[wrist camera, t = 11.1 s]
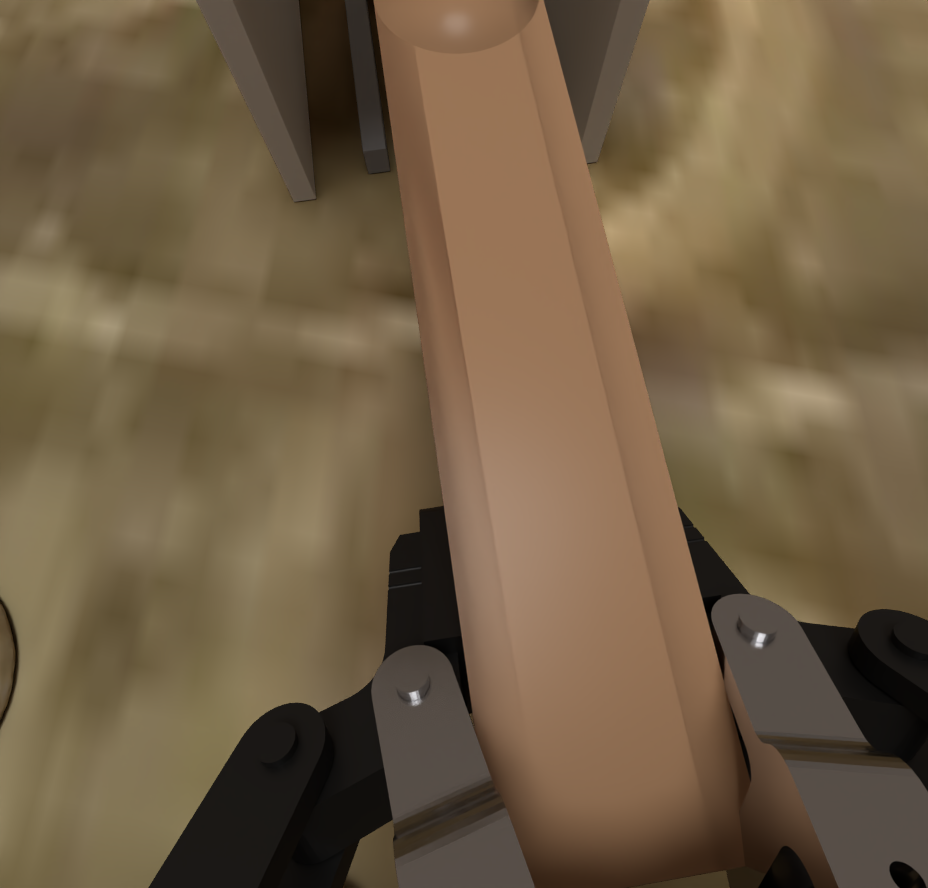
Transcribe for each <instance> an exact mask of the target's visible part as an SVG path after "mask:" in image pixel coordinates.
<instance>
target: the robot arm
mask: <svg viewBox="0 0 928 888" xmlns="http://www.w3.org/2000/svg"><path fill="white" fill-rule="evenodd" d="M678 510H679V514H680V517H681V521H682V525H683V529H684V533H685V536H686V540H687V544H688V548H689V551H690V555H691V559H692V563H693V567H694V570H695V574H696V578H697V582H698V585H699V589H700V593H701V597H702V601H703V604H704V608H705V612H706V616H707V619H708V623H709V627H710V631H711V635H712V638H713V642H714V646H715V650H716V653H717V657H718V661H719V665H720V669H721V672H722V676H723V680H724V686H725V691H726V694H727V696H728V699H729V703H730V706H731V710H732V714H733V718H734V721H735V725H736V729H737V733H738V737H739V740H740V744H741V748H742V752H743V755H744V759H745V763H746V767H747V771H748V774H749V778H750V782H751V784H750V787H749V790H748V792H747V794H746V796H745V799H744V801H743V803H742V806H741V808H740V810H739V817H740V825H741V834H742V843H743V852H744V860H745V867H740V868H734V869H728V870H726V872H727V878H728V882H729V887H730V888H928V621H927V620H925V619H923V618H920V617H918V616H915V615H912V614H909V613H906V612H902V611H897V610H889V609H880V610H873V611H869V612H867V613H865V614H864V615H863V616H862V617H861V618H860V620H859V622H858V624H857V626H856V628H855V629H853V628H845V627H836V626H828V625H820V624H811V623H805V622H799V621H797V620H796V619H795V618H794V617H793V616H792V615H791V614H790V613H788V612H787V611H786V610H785V609H783V608H782V607H780V606H779V605H777V604H775V603H773V602H771V601H769V600H767V599H764V598H761V597H758V596H754V595H750V594H749V593H748V592H747V590H746V589H745V588H744V587H743V585H742V584H741V583H740V582H739V580H738V579H737V578H736V577H735V575H734V574H733V573H732V572H731V571H730V569H729V568H728V567H727V566H726V564H725V563H724V562H723V561H722V559H721V558H720V557H719V556H718V554H717V553H716V552H715V551H714V550H713V548H712V547H711V546H710V545H709V543H708V542H707V541H704V537H703V536H702V535H701V533H700V532H699V531H698V530H697V528H694V527H693V524H692V522H691V521H690V520H689V519H688V517H687V516H686V515H685V514H684V512H683V511H682V510H681V509H680V508H679V507H678ZM419 515H420V532H416V533H410V534H403V535H400V536H399V537H398V539H397V541H396V543H395V545H394V546H393V548H392V550H391V552H390V565H389V573H390V574H389V585H388V587H389V590H388V605H387V625H386V644H385V655H384V659H383V662H382V664H381V665H380V667H379V668H378V670H377V672H376V674H375V676H374V678H373V679H372V680H371V681H370V682H369V683H368V684H367V685H366V686H365V687H364V688H363V689H362V690H360V691H359V692H358V693H356V694H354V695H353V696H351V697H349V698H347V699H345V700H343V701H341V702H339V703H337V704H335V705H333V706H331V707H329V708H327V709H325V710H323V711H321V712H318V711H317V710H316V709H315V708H313V707H311V706H310V705H307V704H304V703H289V704H284V705H281V706H278V707H276V708H274V709H272V710H270V711H268V712H267V713H265V714H264V715H262V716H261V717H260V718H259V719H258V720H256V721H255V722H254V723H253V724H252V725H251V726H250V728H249V729H248V730H247V731H246V733H245V734H244V735H243V737H242V738H241V740H240V741H239V743H238V745H237V746H236V748H235V749H234V751H233V753H232V754H231V756H230V758H229V759H228V761H227V762H226V764H225V766H224V767H223V769H222V770H221V772H220V774H219V775H218V777H217V778H216V780H215V782H214V783H213V785H212V786H211V788H210V790H209V791H208V793H207V794H206V796H205V798H204V799H203V801H202V802H201V804H200V806H199V807H198V809H197V811H196V812H195V814H194V815H193V817H192V819H191V820H190V822H189V823H188V825H187V827H186V828H185V830H184V831H183V833H182V835H181V836H180V838H179V839H178V841H177V843H176V844H175V846H174V847H173V849H172V851H171V852H170V854H169V855H168V857H167V859H166V860H165V862H164V864H163V865H162V867H161V868H160V870H159V872H158V873H157V875H156V876H155V878H154V880H153V881H152V883H151V884H150V886H149V888H343V885H344V882H345V879H346V877H347V874H348V871H349V868H350V866H351V863H352V860H353V857H354V854H355V852H356V849H357V846H358V843H359V841H360V839H361V838H363V837H365V836H366V835H368V834H370V833H371V832H373V831H375V830H376V829H378V828H380V827H381V826H383V825H384V824H386V823H388V822H389V821H391V820H393V823H394V833H395V835H394V838H393V847H394V857H395V865H396V872H397V878H398V884H399V888H535V886H534V883H533V881H532V878H531V875H530V872H529V869H528V867H527V864H526V861H525V858H524V856H523V853H522V850H521V847H520V844H519V842H518V839H517V836H516V833H515V831H514V828H513V825H512V822H511V820H510V817H509V814H508V812H507V809H506V806H505V804H504V802H503V799H502V797H501V795H500V793H499V791H498V790H497V789H496V788H495V786H494V783H493V781H492V778H491V776H490V773H489V770H488V767H487V764H486V762H485V759H484V756H483V753H482V750H481V747H480V745H479V742H478V739H477V736H476V733H475V730H474V728H473V725H472V722H471V719H470V716H469V714H470V713H472V705H471V698H470V691H469V684H468V677H467V669H466V662H465V655H464V648H463V641H462V633H461V626H460V619H459V612H458V605H457V597H456V590H455V583H454V576H453V569H452V561H451V554H450V547H449V540H448V532H447V525H446V518H445V511H444V506H441V507H434V508H428V509H421V510H420V512H419Z"/></svg>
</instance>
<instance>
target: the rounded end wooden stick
mask: <svg viewBox="0 0 928 888" xmlns="http://www.w3.org/2000/svg"><path fill="white" fill-rule="evenodd" d="M374 7H375V14H376V21H377V28H378V36H379V43H380V50H381V57H382V64H383V72H384V79H385V86H386V93H387V100H388V108H389V115H390V122H391V129H392V136H393V144H394V151H395V158H396V165H397V172H398V180H399V187H400V194H401V201H402V208H403V216H404V223H405V230H406V237H407V244H408V252H409V259H410V266H411V273H412V280H413V288H414V295H415V302H416V309H417V316H418V324H419V331H420V338H421V345H422V352H423V360H424V367H425V374H426V381H427V388H428V396H429V403H430V410H431V417H432V424H433V432H434V439H435V446H436V453H437V460H438V468H439V475H440V482H441V489H442V496H443V504H444V511H445V518H446V525H447V532H448V540H449V547H450V554H451V561H452V569H453V576H454V583H455V590H456V597H457V605H458V612H459V619H460V626H461V633H462V641H463V648H464V655H465V662H466V669H467V677H468V684H469V691H470V698H471V705H472V713H473V720H474V727H475V733H476V736H477V739H478V742H479V745H480V747H481V750H482V753H483V756H484V759H485V762H486V764H487V767H488V770H489V773H490V776H491V778H492V781H493V783H494V786H495V788H496V789H497V790H498V791H499V793H500V795H501V797H502V799H503V802H504V804H505V806H506V809H507V812H508V814H509V817H510V820H511V822H512V825H513V828H514V831H515V833H516V836H517V839H518V842H519V844H520V847H521V850H522V853H523V856H524V858H525V861H526V864H527V867H528V869H529V872H530V875H531V878H532V881H533V883H534V886H535V888H629V887H634V886H640V885H645V884H651V883H656V882H662V881H667V880H673V879H679V878H684V877H690V876H695V875H701V874H706V873H712V872H717V871H723V870H728V869H734V868H740V867H745V860H744V852H743V843H742V834H741V825H740V817H739V810H740V808H741V806H742V803H743V801H744V799H745V796H746V794H747V792H748V790H749V787H750V784H751V782H750V778H749V774H748V771H747V767H746V763H745V759H744V755H743V752H742V748H741V744H740V740H739V737H738V733H737V729H736V725H735V721H734V718H733V714H732V710H731V706H730V703H729V699H728V696H727V694H726V691H725V686H724V680H723V676H722V672H721V669H720V665H719V661H718V657H717V653H716V650H715V646H714V642H713V638H712V635H711V631H710V627H709V623H708V619H707V616H706V612H705V608H704V604H703V601H702V597H701V593H700V589H699V585H698V582H697V578H696V574H695V570H694V567H693V563H692V559H691V555H690V551H689V548H688V544H687V540H686V536H685V533H684V529H683V525H682V521H681V517H680V514H679V510H678V506H677V502H676V499H675V495H674V491H673V487H672V483H671V480H670V476H669V472H668V468H667V465H666V461H665V457H664V453H663V449H662V446H661V442H660V438H659V434H658V431H657V427H656V423H655V419H654V415H653V412H652V408H651V404H650V400H649V397H648V393H647V389H646V385H645V381H644V378H643V374H642V370H641V366H640V363H639V359H638V355H637V351H636V347H635V344H634V340H633V336H632V332H631V329H630V325H629V321H628V317H627V313H626V310H625V306H624V302H623V298H622V295H621V291H620V287H619V283H618V279H617V276H616V272H615V268H614V264H613V261H612V257H611V253H610V249H609V245H608V242H607V238H606V234H605V230H604V226H603V223H602V219H601V215H600V211H599V208H598V204H597V200H596V196H595V192H594V189H593V185H592V181H591V177H590V174H589V170H588V166H587V162H586V158H585V155H584V151H583V147H582V143H581V140H580V136H579V132H578V128H577V124H576V121H575V117H574V113H573V109H572V106H571V102H570V98H569V94H568V90H567V87H566V83H565V79H564V75H563V72H562V68H561V64H560V60H559V56H558V53H557V49H556V45H555V41H554V38H553V34H552V30H551V26H550V22H549V19H548V15H547V11H546V7H545V4H544V0H374Z"/></svg>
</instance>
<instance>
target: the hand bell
mask: <svg viewBox="0 0 928 888" xmlns="http://www.w3.org/2000/svg"><path fill="white" fill-rule="evenodd" d="M14 667H15V648H14V642H13V636H12V632H11V628H10V625H9V622H8V619H7V616H6V612H5V610H4V608H3V607H2V605H1V603H0V721H1V718H2V715H3V712H4V710H5V708H6V706H7V704H8V700H9V696H10V693H11V689H12V683H13V673H14Z"/></svg>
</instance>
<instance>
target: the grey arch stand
mask: <svg viewBox="0 0 928 888" xmlns="http://www.w3.org/2000/svg"><path fill="white" fill-rule="evenodd" d="M196 1H197V3H198V5H199V7H200V9H201V11H202V13H203V15H204V18H205V20H206V22H207V24H208V26H209V28H210V30H211V32H212V34H213V36H214V38H215V40H216V42H217V44H218V46H219V48H220V50H221V53H222V55H223V57H224V59H225V61H226V63H227V65H228V67H229V69H230V71H231V73H232V75H233V77H234V79H235V81H236V83H237V86H238V88H239V90H240V92H241V94H242V96H243V98H244V100H245V102H246V104H247V106H248V108H249V110H250V112H251V114H252V116H253V118H254V121H255V123H256V125H257V127H258V129H259V131H260V133H261V135H262V137H263V139H264V141H265V143H266V145H267V147H268V149H269V151H270V153H271V156H272V158H273V160H274V162H275V164H276V166H277V168H278V170H279V172H280V174H281V176H282V178H283V180H284V182H285V184H286V186H287V188H288V191H289V193H290V195H291V197H292V199H293V201H294V202H298V201H305V200H313V199H316V192H315V181H314V169H313V158H312V146H311V135H310V123H309V112H308V100H307V89H306V77H305V66H304V54H303V43H302V31H301V20H300V8H299V0H196ZM648 3H649V0H544V4H545V7H546V11H547V15H548V19H549V22H550V26H551V30H552V34H553V38H554V41H555V45H556V49H557V53H558V56H559V60H560V64H561V68H562V72H563V75H564V79H565V83H566V87H567V90H568V94H569V98H570V102H571V106H572V109H573V113H574V117H575V121H576V124H577V128H578V132H579V136H580V140H581V143H582V147H583V151H584V155H585V158H586V162H587V163H592V162H597V161H598V158H599V154H600V151H601V148H602V145H603V142H604V139H605V136H606V133H607V130H608V127H609V124H610V120H611V117H612V114H613V111H614V108H615V105H616V102H617V99H618V96H619V93H620V90H621V87H622V83H623V80H624V77H625V74H626V71H627V68H628V65H629V62H630V59H631V56H632V53H633V49H634V46H635V43H636V40H637V37H638V34H639V31H640V28H641V25H642V22H643V19H644V16H645V12H646V9H647V6H648ZM345 6H346V14H347V23H348V31H349V39H350V48H351V56H352V64H353V73H354V81H355V89H356V98H357V106H358V114H359V123H360V131H361V139H362V148H363V154H364V158H365V161H366V165H367V169H368V173H369V174H371V173H379V172H386V171H390V165H389V158H388V151H387V143H386V136H385V129H384V121H383V114H382V106H381V99H380V92H379V84H378V77H377V70H376V62H375V55H374V48H373V40H372V33H371V26H370V18H369V11H368V3H367V0H345Z"/></svg>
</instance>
